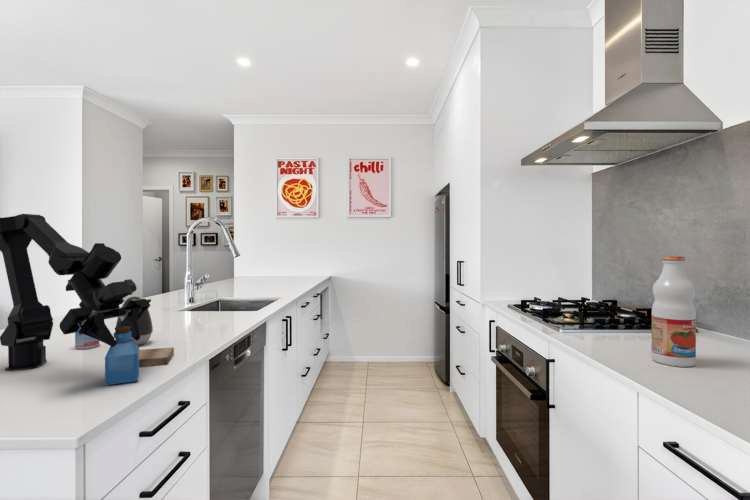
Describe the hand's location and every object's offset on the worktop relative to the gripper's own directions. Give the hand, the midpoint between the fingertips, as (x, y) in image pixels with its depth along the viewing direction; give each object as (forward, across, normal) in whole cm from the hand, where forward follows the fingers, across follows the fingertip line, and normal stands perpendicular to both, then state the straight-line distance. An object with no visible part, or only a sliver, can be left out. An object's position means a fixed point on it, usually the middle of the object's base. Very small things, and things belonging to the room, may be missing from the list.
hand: (127, 342), depth 93 cm
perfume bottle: (+5, 0, +7) cm, 9 cm away
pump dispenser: (-14, +26, +27) cm, 40 cm away
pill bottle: (-22, +19, +35) cm, 45 cm away
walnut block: (0, +14, +13) cm, 19 cm away
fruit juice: (+93, +58, -82) cm, 137 cm away
